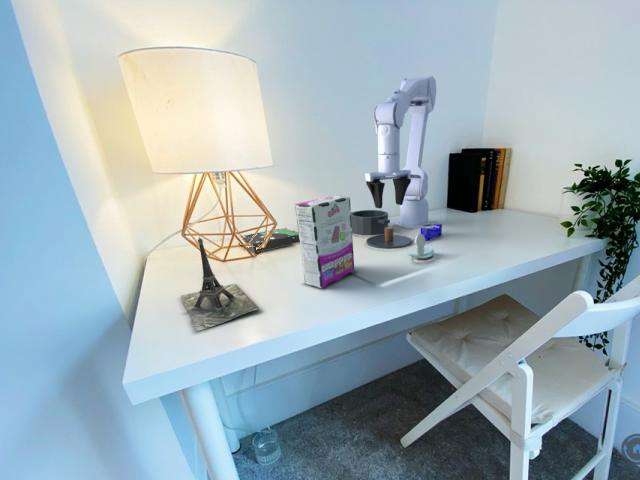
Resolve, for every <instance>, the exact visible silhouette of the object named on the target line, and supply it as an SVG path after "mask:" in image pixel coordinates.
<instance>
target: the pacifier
mask: <svg viewBox="0 0 640 480" xmlns="http://www.w3.org/2000/svg"><path fill="white" fill-rule="evenodd" d="M414 243H415V244H414V245H416V253H409V252H406V255H408V256H409V257H412V258H413V262H415V263H420V264H424V263H431V262H434V261H436V260H437V258H438V257H437V256H436V255H434V254H435V250H434V248H433V247H432V246H425V245H426V241H425V237H424V235H422V234H421V233H418V234H417V235H416V236H415V238H414ZM428 258H429V259H428Z"/></svg>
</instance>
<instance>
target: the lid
mask: <svg viewBox="0 0 640 480" xmlns="http://www.w3.org/2000/svg"><path fill="white" fill-rule="evenodd" d="M365 240H366V241H365V242H366V244H367V245H368V246H370V247H371V248H376V249H385V250H386V249H387V250H388V249H391V250H392V249H400V248H405V247H407V246H410V245H411V244H412V243H413V242H412V238H410V237H409V236H407V235H402V234H401V235H400V234H394V227H393V226H388V227H385V233H384V234H380V235H372V236H370V237H368V238H367V239H365Z"/></svg>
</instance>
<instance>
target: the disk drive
mask: <svg viewBox="0 0 640 480" xmlns="http://www.w3.org/2000/svg"><path fill="white" fill-rule="evenodd" d="M274 230H275V231H274V232H273V234H272V236H271V238H270V239H269V241H268V243H267V245H266V247H265V248H261V249H257V250H256V247H259V246H260V245H261V244H262V243H263V242H264V238H265V234H266V231H262V232H256V233H257V235H256V236H255V237H254V238H253V240H252V241H251V242H250V244H251V245H253V246H255V247H249V248H248V247H247V249H248V250H247V249H246V248H244V249H246V250H247V251H249V252H251V253H260V252H265V251H270V250H271V251H272V250H275V249H279V248H282V247H287V246H293V244H295V243H300V240H299V232H298V231H296V230H291V229H288V228H287V227H285V228H277V229H276V228H275V229H274ZM254 234H255V233H250V234H243V235H240V236H241V237H242V238H243V240H244V241H245V242H246V243H249V241H250V240H251V238H252V236H253V235H254ZM237 243H238V242H237ZM237 245H238V246H240V243H238V244H237Z"/></svg>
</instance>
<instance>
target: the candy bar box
mask: <svg viewBox="0 0 640 480" xmlns="http://www.w3.org/2000/svg"><path fill="white" fill-rule="evenodd" d="M294 208H295V209H294V210H295V216H296V222H297V223H296V225H297V232H299V240H300V242H299V246H300V254H301V261H302V269H303V270H302V271H303V279H304V284H305V285H307V286H311V287H314V288H318V289H324V288H326V287H329V286H330V285H332V284H334V283H336V282H337V281H338V282H339V280H341V279H343V278H345V277H347V276H348V275H351V274H353V272H354V271H355V258H354V257H355V256H354V255H355V254H354V241H353V233H352V223H351V212H352V210H351V197H350V196H344V195H329V196H325V197H320V198H316V199H312V200H311V199H310V200H308V201H307V200H306V201H302V202H299V203H294Z"/></svg>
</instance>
